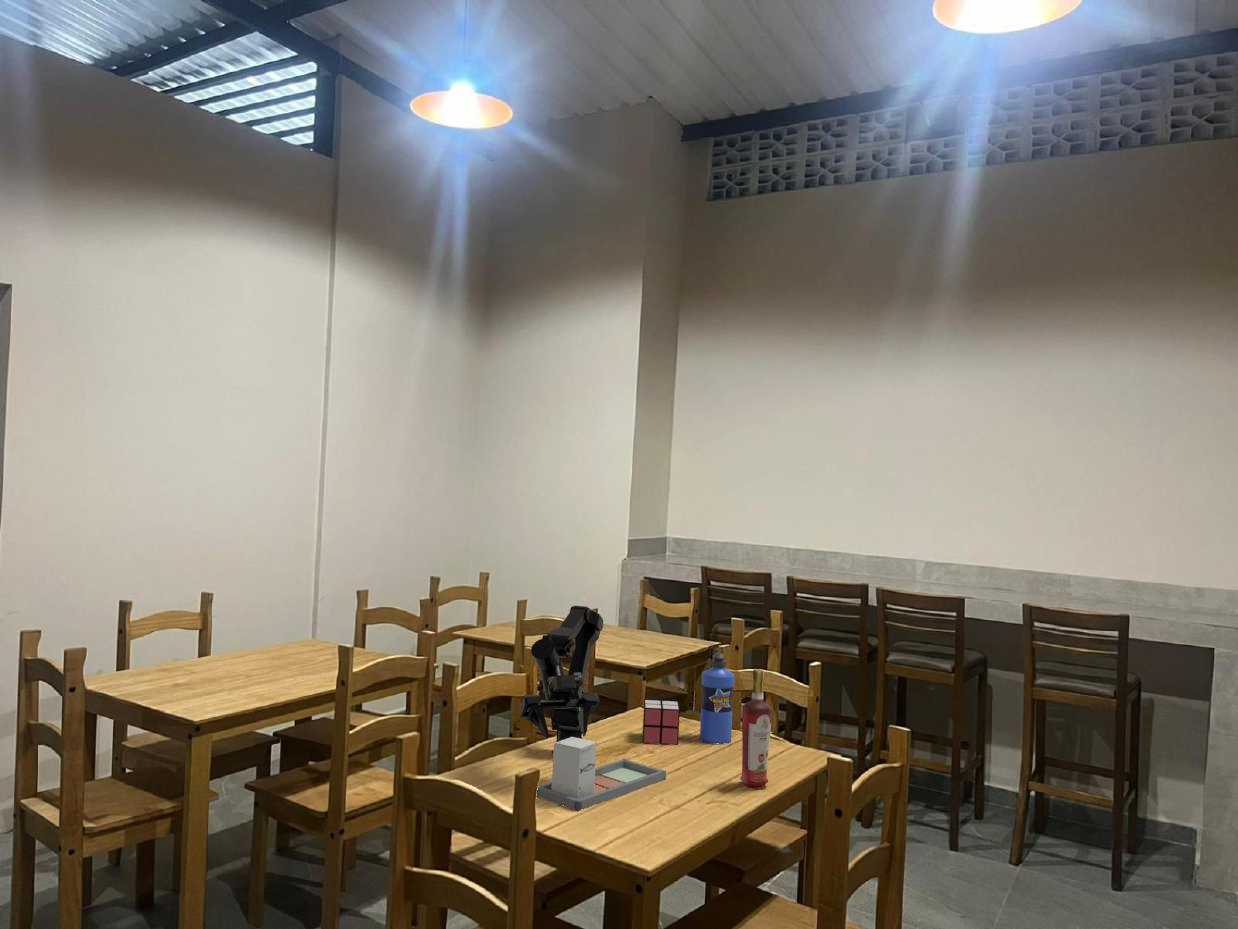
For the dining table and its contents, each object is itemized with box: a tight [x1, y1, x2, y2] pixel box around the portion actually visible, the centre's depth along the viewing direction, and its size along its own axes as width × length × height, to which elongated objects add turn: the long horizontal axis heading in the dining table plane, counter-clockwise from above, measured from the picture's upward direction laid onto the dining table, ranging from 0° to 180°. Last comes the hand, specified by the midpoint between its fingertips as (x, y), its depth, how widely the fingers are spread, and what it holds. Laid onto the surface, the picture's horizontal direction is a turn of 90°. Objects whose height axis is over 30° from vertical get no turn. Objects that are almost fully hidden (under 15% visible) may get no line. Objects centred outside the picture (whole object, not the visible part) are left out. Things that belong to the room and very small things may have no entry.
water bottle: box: [699, 651, 735, 745], centre depth 260 cm, size 9×9×25 cm
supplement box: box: [551, 737, 598, 799], centre depth 205 cm, size 7×7×13 cm
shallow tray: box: [536, 758, 667, 811], centre depth 213 cm, size 13×32×2 cm, turn 140°
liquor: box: [739, 668, 773, 789], centre depth 220 cm, size 7×7×28 cm
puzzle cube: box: [641, 699, 681, 746], centre depth 257 cm, size 10×10×10 cm
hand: (566, 736), depth 211 cm, fingers open, 9 cm apart
